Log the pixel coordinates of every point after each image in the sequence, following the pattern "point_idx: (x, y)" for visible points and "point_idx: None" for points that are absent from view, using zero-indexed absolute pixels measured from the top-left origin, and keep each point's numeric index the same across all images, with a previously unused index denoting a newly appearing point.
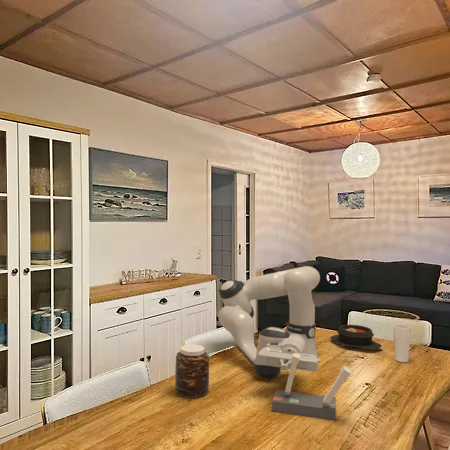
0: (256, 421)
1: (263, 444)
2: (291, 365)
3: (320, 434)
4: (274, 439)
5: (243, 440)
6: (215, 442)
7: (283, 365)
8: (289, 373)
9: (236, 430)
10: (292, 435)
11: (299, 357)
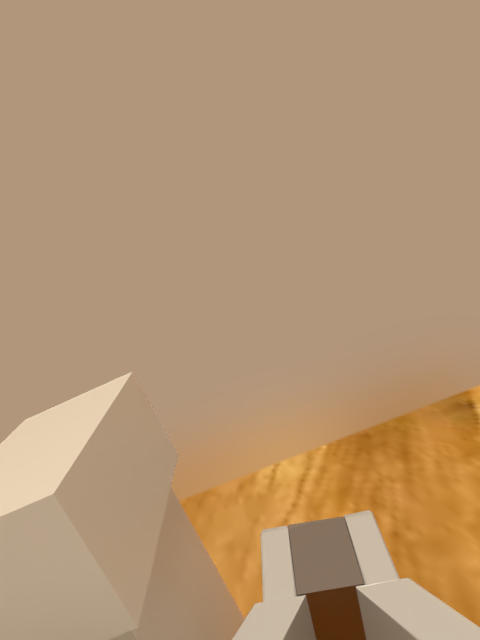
0: (436, 551)
1: (316, 451)
2: (189, 524)
3: None
4: (290, 482)
5: (387, 439)
6: (457, 404)
7: (329, 522)
8: None
9: (456, 463)
10: (228, 529)
11: (4, 441)
